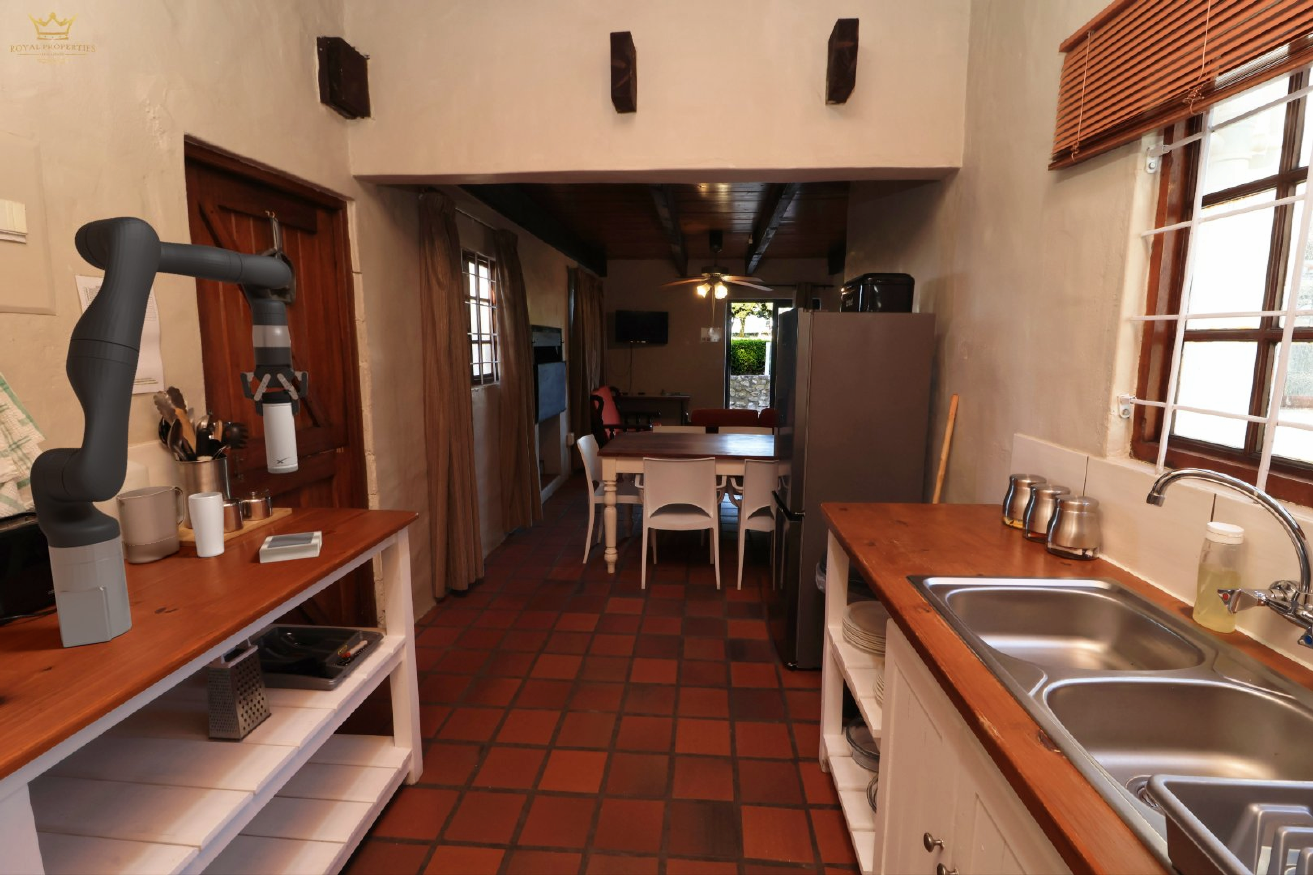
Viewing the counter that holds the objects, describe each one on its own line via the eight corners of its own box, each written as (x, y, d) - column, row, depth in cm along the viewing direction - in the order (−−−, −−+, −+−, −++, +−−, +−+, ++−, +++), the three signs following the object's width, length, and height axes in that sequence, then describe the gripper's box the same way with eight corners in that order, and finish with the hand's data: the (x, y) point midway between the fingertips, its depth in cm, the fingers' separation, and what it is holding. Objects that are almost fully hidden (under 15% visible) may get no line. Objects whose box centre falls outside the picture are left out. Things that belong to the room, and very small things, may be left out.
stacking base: (318, 556, 149) (317, 543, 149) (260, 563, 144) (259, 549, 144) (322, 542, 160) (321, 530, 160) (268, 548, 155) (267, 535, 155)
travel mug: (285, 474, 146) (278, 390, 143) (261, 472, 147) (254, 389, 144) (305, 468, 152) (298, 388, 149) (282, 467, 153) (275, 387, 150)
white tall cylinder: (192, 553, 151) (186, 494, 149) (226, 548, 155) (220, 490, 153) (195, 561, 146) (189, 499, 144) (229, 554, 150) (224, 495, 148)
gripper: (232, 345, 138) (240, 418, 141) (305, 345, 144) (311, 415, 147) (238, 345, 145) (246, 415, 148) (308, 345, 151) (314, 412, 154)
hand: (278, 415), depth 147 cm, fingers closed on travel mug, 6 cm apart
